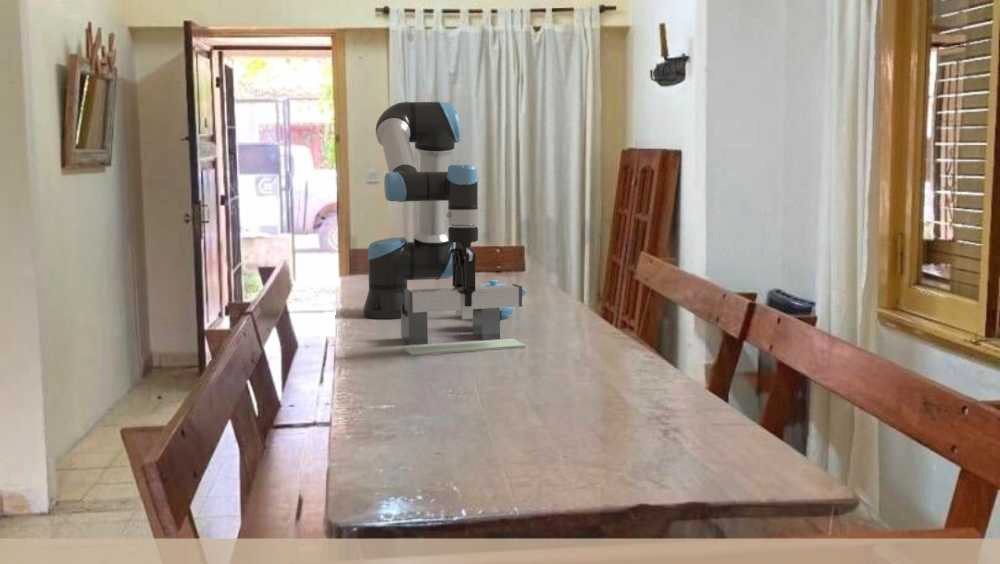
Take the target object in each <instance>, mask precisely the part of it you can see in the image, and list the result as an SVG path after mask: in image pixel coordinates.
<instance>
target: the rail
mask: <svg viewBox="0 0 1000 564" xmlns="http://www.w3.org/2000/svg"><path fill="white" fill-rule="evenodd" d="M522 288H523V285H520V284H517V283H512V284H506V285H499V286H480V285H479V286H475V289H476V290H475V292H473V309H485V308H502V307H514V308H518V307H523V297H522ZM461 291H463V288H462V287H459V288H454V287H446V288H445V287H442V288H425V289H421V288H420V289H408V288H407V289H405V310H406V311H407V312H409V313H416V312H427V313H431V312H448V311H456V310H462V296H461V294H460V292H461Z"/></svg>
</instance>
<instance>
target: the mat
mask: <svg viewBox="0 0 1000 564" xmlns="http://www.w3.org/2000/svg"><path fill="white" fill-rule="evenodd" d="M520 348H522V349H524V348H526V345H525V344H524V343H522V342H520V341H519V340H517V339H515V338H505V339H504V338H503V339H489V340H477V341H476V340H475V341H474V340H473V341H461V342H459V341H457V342H447V343H445V342H444V343H429V344H416V345H403V346H402V349H403V350H404V351H405V352H406V353H408V355H410V356H411V357H412V356H425V355H426V356H427V355H438V354H439V355H440V354H451V353H463V352H465V353H466V352H479V351H480V352H481V351H493V350H507V349H508V350H509V349H520Z"/></svg>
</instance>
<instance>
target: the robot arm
mask: <svg viewBox="0 0 1000 564" xmlns="http://www.w3.org/2000/svg"><path fill="white" fill-rule="evenodd" d="M461 133H462V132H461V123H460V117H459V113H458V110H457V108H456V106H455V104H453V103H451V102H444V101H413V102H412V101H411V102H410V101H401V102H397V103H395V104H393V105H391V106H389V107H388V108H387V109H386V110H384V111H382V114H381V115H380V116H379V117H378V120H377V122H376V126H375V136H376V138H377V141H378V143H379V144H380V146H382V149H383V150H382V151H383V154H384V158H385V160H386V165H387V171H388V172H387V173H386V174H384V181H383V182H384V184H383V185H384V189H383V191H384V196H385V199H386V200H387V201H389V202H397V203H403V202H419V207H418V208H419V212H418V214H419V215H418V218H419V219H418V231H417V232H416V233H415V234H414V235H413V241H408V240H407V238H406V237H404V236H403V237H400V236H399V237H390V238H383V239H379V240H376V241H372V242H371V243H370V244H369V245H368V253H367V260H368V292H367V295H366V299H365V303H364V304H363V305H364V306H363V316H364V317H365V318H369V319H377V320H379V319H380V320H381V319H382V320H386V319H388V320H389V319H391V320H392V319H401V304H405V289H408V281H418V280H419V281H421V280H422V281H423V280H437V281H438V280H439V281H440V280H444V279H450V278H452V287H453V288H459V287H462V288H463V291H461V292H460V294H461V296H462V310H455V316H457V317H458V316H459V317H460V316H461V320H472V319H473V292H475V290H476V289H475V287H476V256H477V254H476V252H474V250H473V248H472V243H476V242H478V240H479V228H478V226H477V225H478V224H479V208H478V203H479V200H478V199H479V197H478V191H479V189H478V187H479V185H478V183H479V182H478V181H479V177H478V167H477V166H476V165H474V164H451V165H450V154H451V153H452V152H453V151H454V150H455V144H457V143H459V142H460V141H461ZM411 143H414V149H415V150H416V151H417V152H418V153H419V170H418V167H417V163H416V159H415V156H414V153H413V149H412V146H411ZM448 225H449V226H448ZM448 227H449V228H448Z"/></svg>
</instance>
